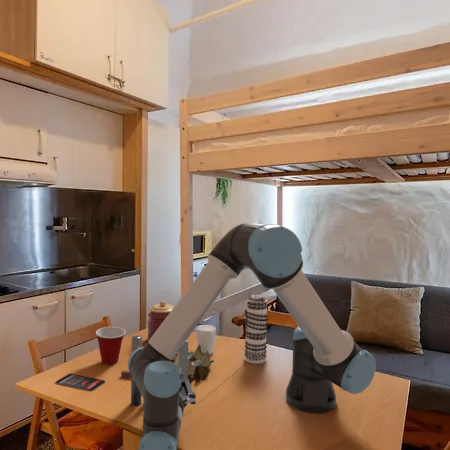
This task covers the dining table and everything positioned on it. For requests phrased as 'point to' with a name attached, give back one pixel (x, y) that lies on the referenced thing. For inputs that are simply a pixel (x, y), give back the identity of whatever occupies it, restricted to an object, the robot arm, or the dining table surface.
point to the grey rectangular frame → (184, 363)
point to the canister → (157, 317)
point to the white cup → (206, 338)
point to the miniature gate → (190, 364)
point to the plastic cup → (110, 344)
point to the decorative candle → (256, 329)
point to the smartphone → (80, 382)
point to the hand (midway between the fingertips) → (178, 371)
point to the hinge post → (134, 389)
